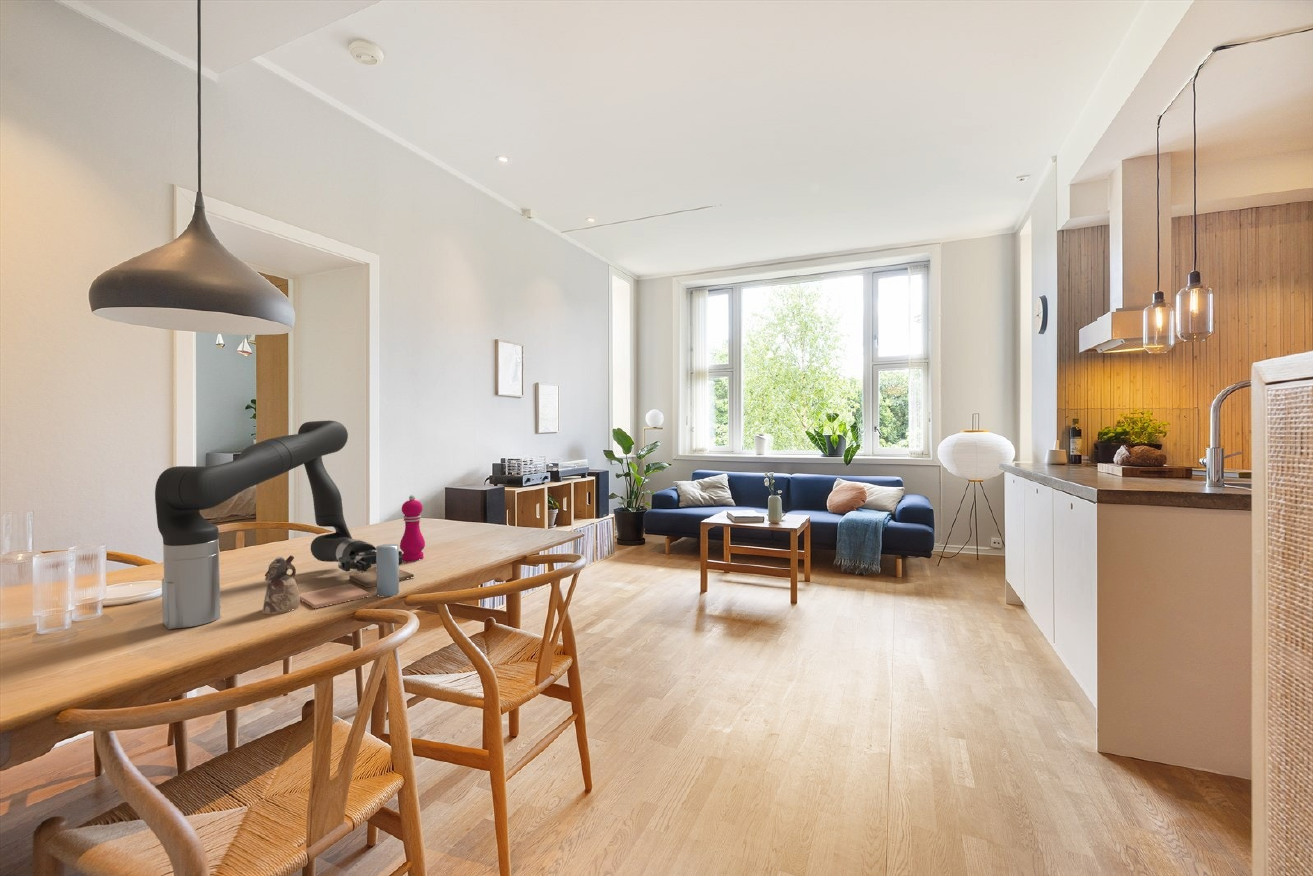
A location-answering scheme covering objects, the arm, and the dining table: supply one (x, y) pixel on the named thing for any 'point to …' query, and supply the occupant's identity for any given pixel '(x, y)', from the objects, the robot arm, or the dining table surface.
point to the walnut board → (375, 577)
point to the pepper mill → (412, 531)
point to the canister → (387, 569)
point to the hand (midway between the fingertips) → (383, 564)
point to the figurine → (281, 587)
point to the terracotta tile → (333, 595)
